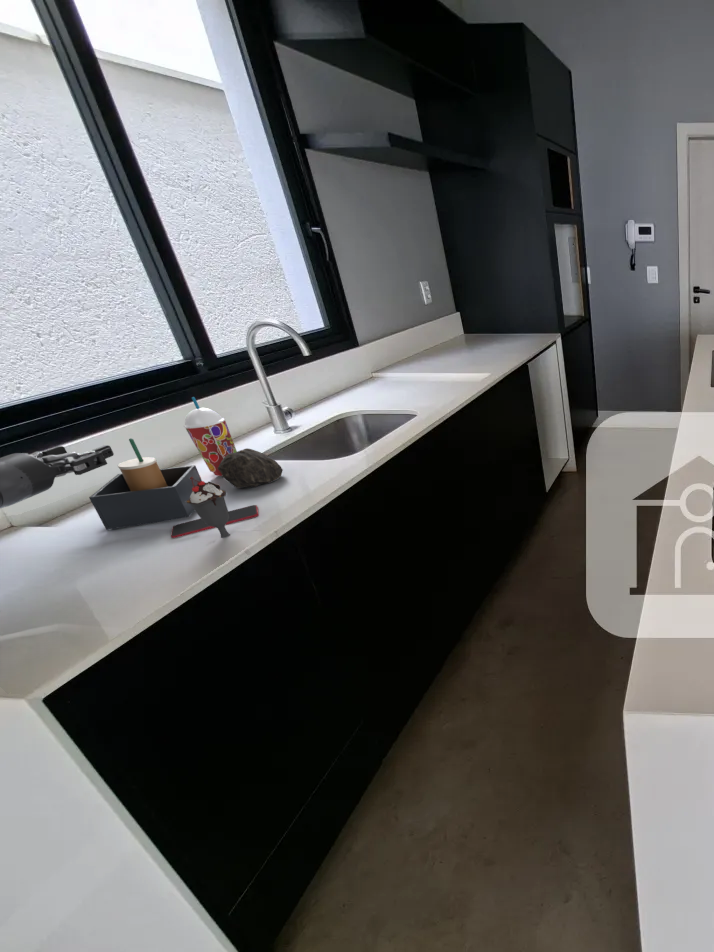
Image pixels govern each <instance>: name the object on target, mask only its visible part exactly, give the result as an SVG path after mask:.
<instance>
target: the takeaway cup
mask: <svg viewBox="0 0 714 952" xmlns="http://www.w3.org/2000/svg"><path fill="white" fill-rule="evenodd" d="M128 441H129V443H130V445H131V448H132V449H133V451H134V454H135V455H136V458H130V459H127V460H124V461H121V462H120V463H118V464H117V468H118V469H119V471H120V472H121V474H123V476H124V478H125V480H126V482H127V484H128V486H129V488H130V490H131V491H138V490H146V489H154V488H162V487H168V486H167V484H166V481H165V479H164V477H163V475H162V473H161V471H160V469H161V468H160V466H159V464H158V462H157V458H156V457H153V456H142V455H141V452H140V451H139V448H138V446H137V444H136V442H135V440H134V438H129V439H128Z"/></svg>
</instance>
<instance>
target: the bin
mask: <svg viewBox="0 0 714 952" xmlns="http://www.w3.org/2000/svg"><path fill="white" fill-rule="evenodd" d="M159 469H160V471H161V473H162V475H163V477H164V479H165V481H166V484H167V486H168V487H162V488H154V489H146V490H138V491H131V490H130V488H129V486H128V484H127V482H126V480H125V478H124V476H123V474H122V473H117V474H116V475H115V476H114V477H113V478H111V479H110V480H108V481H107V482H106V483H105V484H104V485H103V486H101V487H100V488H99V489H97V491H95V492H94V493H92V494H91V495H90V496H89V497H88V498H89V500H90V502H91V504H92V506H93V508H94V509H95V512H96V513H97V516H98V518H99V519H100V521H101V523H102V524H103V526H104V528H105V530H115V529H122V528H129V527H135V526H142V525H143V526H144V525H150V524H156V523H157V524H158V523H164V522H169V521H175V520H179V519H184V518H189V517H190V516H191V515H192V514H193V513H194V512H195V510H194V508H193V507H192V506H191V505H190V504H187V503H185V501H187V500H188V499H189V498H190V496H191V494H192V488H193V484H192V480H193V479H194V480H193V483H194V486H196V485H197V483H198V482H197V481H203V480H202V477H201V475H200V473H199V470H198V468H197V465H196V464H193V465H184V466H176V467H168V468H159ZM191 477H193V479H190V478H191ZM195 480H197V481H195Z"/></svg>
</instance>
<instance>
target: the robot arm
mask: <svg viewBox="0 0 714 952" xmlns="http://www.w3.org/2000/svg"><path fill="white" fill-rule="evenodd" d="M114 454H115V453H114V451H113V449H112V446H111V445H102V446H99V447H96V448H94V449H91V450H88V451H84V452H79V453H77V452H76V451H70V452H67V450H66V448H65V446H63V445H57V446H54V447H51V448H49V449H46V450H44V451H34V452H32V453H29V452H22V453H21V452H15V453H11V454H7V455H4V456H2V457H0V509H2V508H3V509H4V508H7V507H10V506H13V505H15V504H18V503H20V502H23V501H25V500H27V499H29V498H32V497H35V496H37V495H40V494H41V493H43V492H46V491H49V490H50V489H51V488H52V487H53V485H54V482H55V479H56V478H60V477H64V476H66V475H67V474H72V473H74V475H75V476H81V475H83V474H86V473H89V472H91V471H93V470H96V469H100V468H101V467H104V466H107V465H108V462H107V460H106V459H109V458H112V457H113V456H115V455H114ZM69 458H72V460H69Z"/></svg>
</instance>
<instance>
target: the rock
mask: <svg viewBox="0 0 714 952" xmlns="http://www.w3.org/2000/svg"><path fill="white" fill-rule="evenodd" d="M218 470H219V471H220V472H221V474H222V476H221V477H222V478H223V479H224V480H225V481H226V482H228V483H229V484H230V485H231V486H233V487H234V488H237V489H242V488H247V489H248V488H249V489H251V488H257V487H258V486H260V485H268V484H271V483H273V482H275V481H277V480H279V479H280V477H281V476H282V474H283V471H284V469H283V468H282V466H281V465H280V464H279V463H278V462H277V461H276V459H274V458H271V457H269V455H266V454H265V453H264V452H260V451H258V450H256V449H252V448H248V447H247V448H243V449H241V450H238V451H237V452H235V453H230V454H228V455H226V456H225V457H224V458H223V460H222V461H221V463H220V465H219V467H218Z"/></svg>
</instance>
